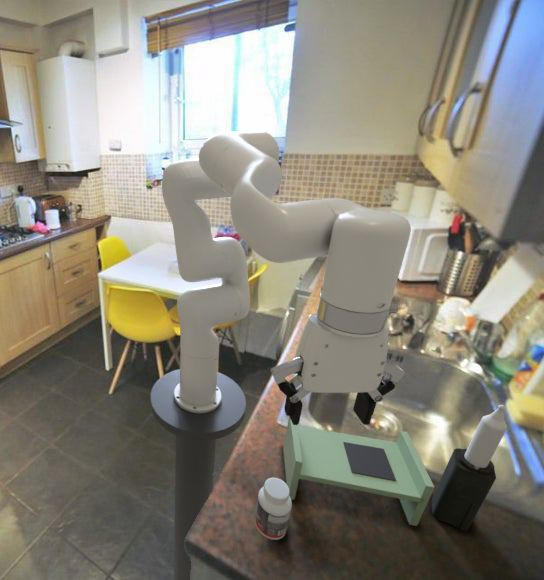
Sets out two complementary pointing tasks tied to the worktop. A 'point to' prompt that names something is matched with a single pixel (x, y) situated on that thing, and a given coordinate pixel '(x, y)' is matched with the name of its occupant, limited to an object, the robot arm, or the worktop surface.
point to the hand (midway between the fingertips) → (326, 417)
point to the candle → (469, 474)
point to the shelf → (358, 466)
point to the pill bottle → (273, 509)
